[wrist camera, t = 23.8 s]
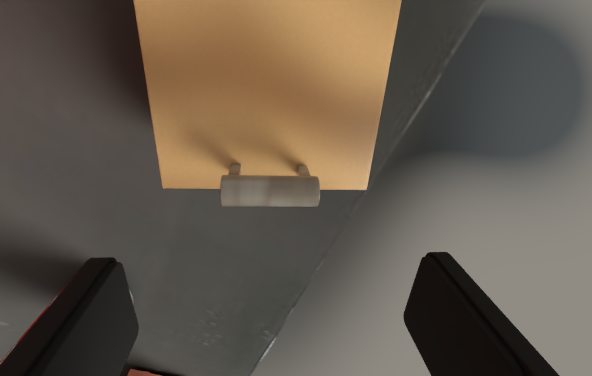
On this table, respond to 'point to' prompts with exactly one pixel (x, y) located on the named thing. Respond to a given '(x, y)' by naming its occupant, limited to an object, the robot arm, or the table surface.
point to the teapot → (140, 373)
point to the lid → (266, 94)
